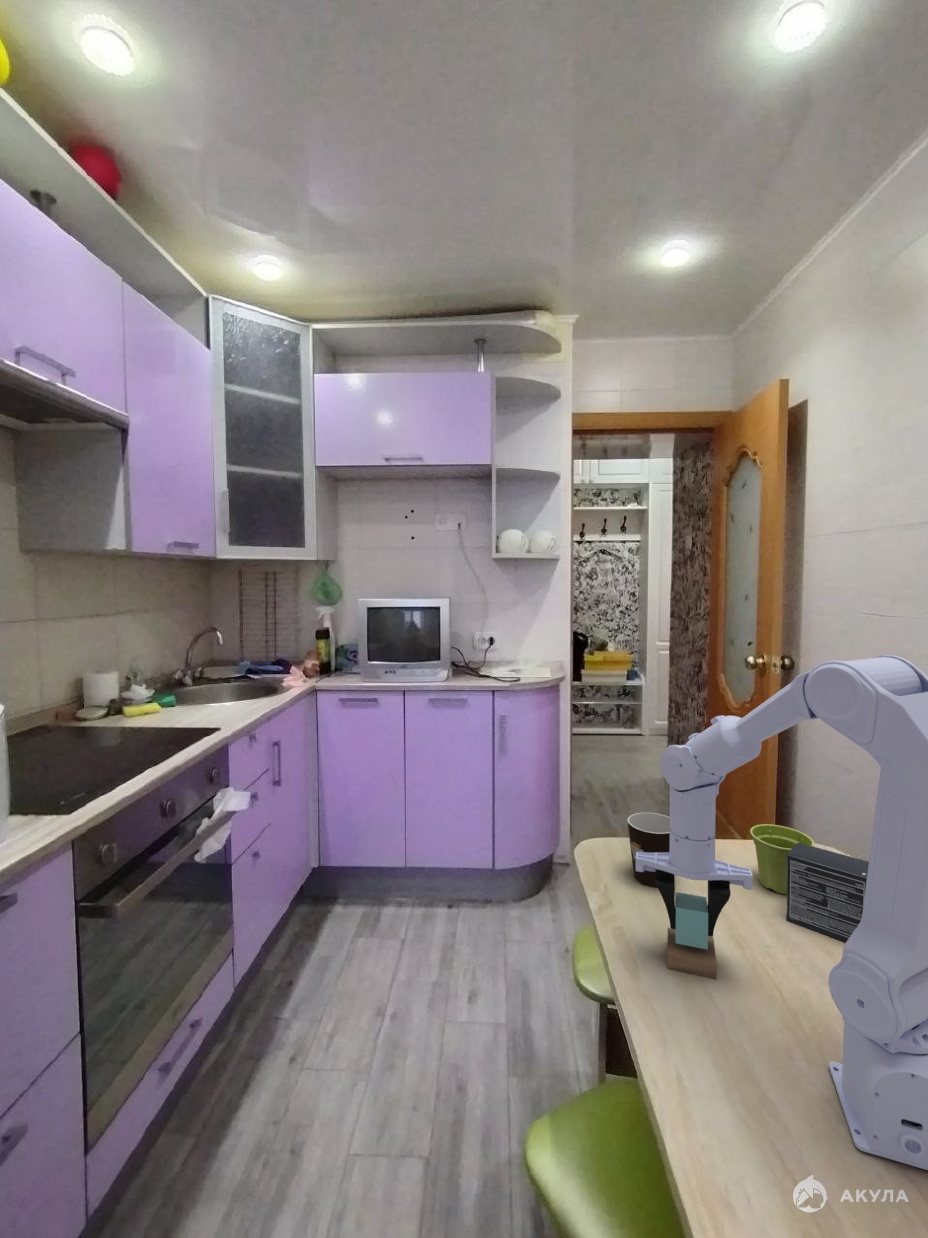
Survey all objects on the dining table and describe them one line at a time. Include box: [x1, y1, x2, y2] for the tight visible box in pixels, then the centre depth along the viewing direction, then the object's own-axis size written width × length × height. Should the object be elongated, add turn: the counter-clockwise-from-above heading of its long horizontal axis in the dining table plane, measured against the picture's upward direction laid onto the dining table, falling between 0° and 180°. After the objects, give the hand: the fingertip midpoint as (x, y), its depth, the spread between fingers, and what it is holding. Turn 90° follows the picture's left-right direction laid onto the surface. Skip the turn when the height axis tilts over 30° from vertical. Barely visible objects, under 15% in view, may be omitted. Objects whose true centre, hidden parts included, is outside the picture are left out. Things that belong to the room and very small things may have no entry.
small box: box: [785, 843, 869, 943], centre depth 81 cm, size 11×6×10 cm, turn 45°
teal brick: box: [675, 891, 708, 950], centre depth 75 cm, size 4×4×5 cm
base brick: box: [667, 927, 718, 980], centre depth 75 cm, size 6×6×2 cm
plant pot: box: [749, 823, 815, 895], centre depth 92 cm, size 9×9×9 cm
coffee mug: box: [627, 811, 670, 889], centre depth 94 cm, size 12×9×10 cm
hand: (691, 928), depth 74 cm, fingers closed on teal brick, 4 cm apart
